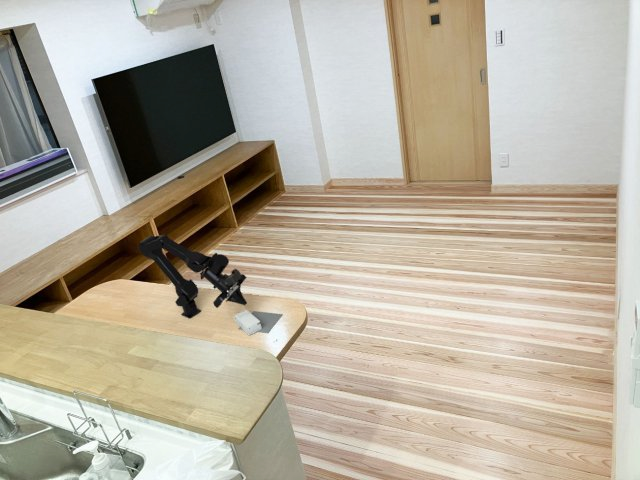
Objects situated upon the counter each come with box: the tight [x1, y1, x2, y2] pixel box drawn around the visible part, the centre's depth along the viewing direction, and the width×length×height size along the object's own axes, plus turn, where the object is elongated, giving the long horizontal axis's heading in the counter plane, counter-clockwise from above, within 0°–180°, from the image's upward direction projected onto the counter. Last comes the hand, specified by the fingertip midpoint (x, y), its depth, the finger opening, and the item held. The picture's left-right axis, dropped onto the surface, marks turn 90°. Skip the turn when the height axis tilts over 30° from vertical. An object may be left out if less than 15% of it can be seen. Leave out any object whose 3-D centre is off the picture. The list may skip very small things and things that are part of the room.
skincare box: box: [233, 309, 262, 336], centre depth 210 cm, size 6×4×12 cm
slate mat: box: [237, 310, 283, 334], centre depth 213 cm, size 14×13×1 cm
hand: (245, 304), depth 212 cm, fingers closed
